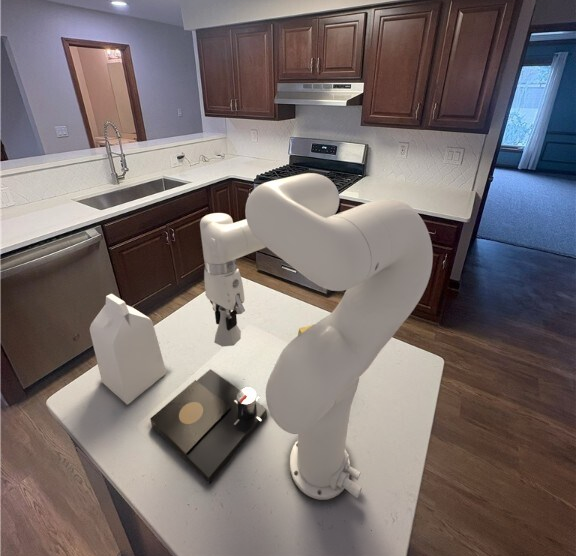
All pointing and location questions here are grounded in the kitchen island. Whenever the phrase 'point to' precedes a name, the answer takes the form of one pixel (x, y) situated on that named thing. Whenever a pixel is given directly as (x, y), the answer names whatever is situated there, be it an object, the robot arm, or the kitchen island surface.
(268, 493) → the kitchen island surface
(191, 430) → the burner
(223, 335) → the flask
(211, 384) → the hob
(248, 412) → the hob knob
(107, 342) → the milk
